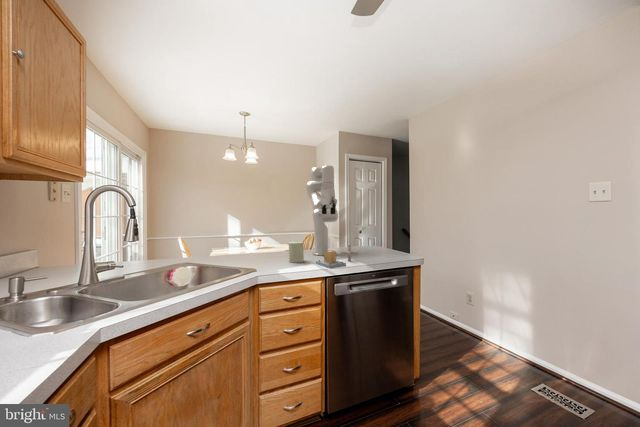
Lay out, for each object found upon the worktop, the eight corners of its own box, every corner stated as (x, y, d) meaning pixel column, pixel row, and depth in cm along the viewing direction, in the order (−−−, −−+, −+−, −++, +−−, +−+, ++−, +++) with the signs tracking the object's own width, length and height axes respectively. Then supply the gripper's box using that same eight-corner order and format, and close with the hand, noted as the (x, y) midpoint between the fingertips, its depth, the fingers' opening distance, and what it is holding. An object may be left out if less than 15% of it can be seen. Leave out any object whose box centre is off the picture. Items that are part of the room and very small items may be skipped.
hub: (322, 261, 155) (322, 251, 155) (331, 260, 158) (331, 250, 158) (328, 263, 149) (328, 252, 149) (338, 262, 153) (338, 251, 152)
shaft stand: (315, 263, 157) (315, 250, 157) (331, 261, 162) (331, 249, 162) (329, 268, 145) (328, 254, 145) (345, 265, 150) (345, 252, 150)
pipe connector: (357, 263, 157) (357, 245, 157) (340, 262, 159) (339, 245, 159) (358, 259, 167) (358, 243, 167) (342, 259, 169) (342, 243, 169)
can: (292, 263, 160) (291, 242, 159) (286, 260, 168) (286, 241, 167) (306, 261, 164) (306, 241, 164) (300, 259, 172) (300, 240, 172)
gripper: (315, 187, 172) (316, 214, 172) (330, 184, 157) (331, 214, 158) (325, 187, 176) (326, 213, 176) (341, 185, 161) (341, 214, 162)
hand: (328, 214), depth 167 cm, fingers open, 9 cm apart
